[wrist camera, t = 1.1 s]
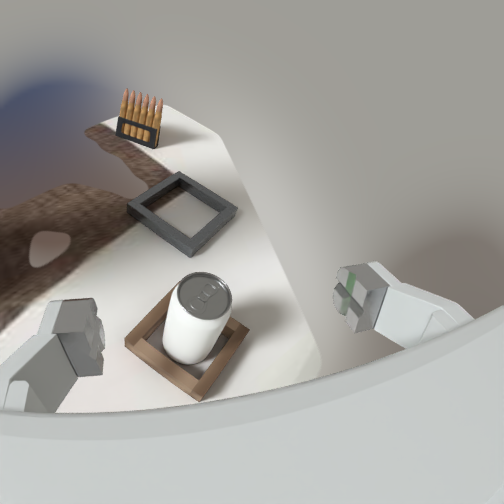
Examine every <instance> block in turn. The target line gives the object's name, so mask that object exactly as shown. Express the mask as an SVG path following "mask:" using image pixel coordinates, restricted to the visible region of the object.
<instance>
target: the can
mask: <svg viewBox="0 0 504 504" xmlns="http://www.w3.org/2000/svg"><path fill="white" fill-rule="evenodd" d="M231 303H232V295H231V292H230V289H229V287H228V286H227V284H226V283H225V282H224V281H223V280H222V279H220V278H219V277H217V276H215V275H213V274H210V273H206V272H195V273H191V274H189V275H187V276H185V277H184V278H183V279H182V280H181V281H180V283H179V284H178V285H177V286H176V287H175V289H174V291H173V293H172V296H171V299H170V304H169V308H168V313H167V318H166V322H165V327H164V333H163V346H164V349H165V351H166V353H167V354H168V355H169V356H170V357H171V358H172V359H173V360H175V361H177V362H179V363H182V364H187V365H191V364H197V363H199V362H201V361H203V360H204V359H205V358H206V357H207V356H208V354H209V353H210V351H211V350H212V348H213V346H214V344H215V343H216V341H217V339H218V337H219V335H220V334H221V332H222V330H223V328H224V327H225V325H226V323H227V321H228V319H229V317H230V314H231V308H232V306H231Z"/></svg>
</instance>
